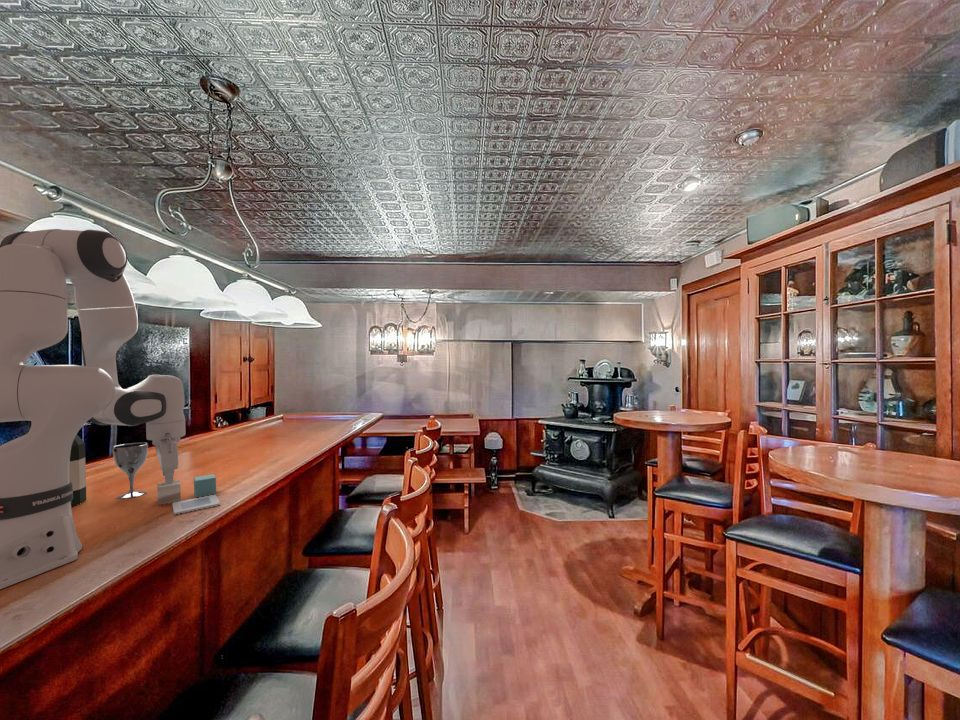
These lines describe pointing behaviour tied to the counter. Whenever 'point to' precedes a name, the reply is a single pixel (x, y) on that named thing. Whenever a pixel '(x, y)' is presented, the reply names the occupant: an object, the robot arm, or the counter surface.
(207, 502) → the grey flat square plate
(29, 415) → the robot arm
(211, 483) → the teal block
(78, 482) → the wine bottle
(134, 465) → the wine glass
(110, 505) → the counter surface
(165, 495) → the off-white block
